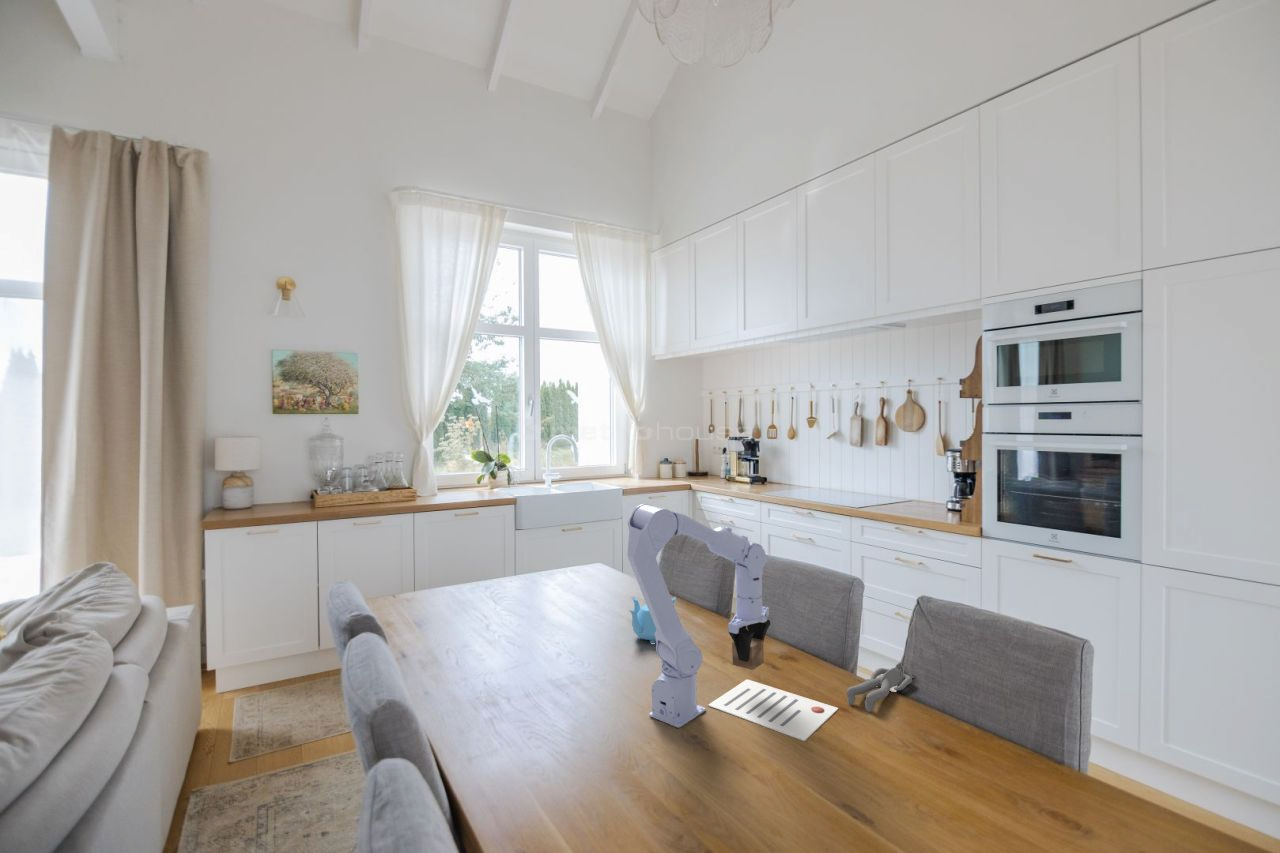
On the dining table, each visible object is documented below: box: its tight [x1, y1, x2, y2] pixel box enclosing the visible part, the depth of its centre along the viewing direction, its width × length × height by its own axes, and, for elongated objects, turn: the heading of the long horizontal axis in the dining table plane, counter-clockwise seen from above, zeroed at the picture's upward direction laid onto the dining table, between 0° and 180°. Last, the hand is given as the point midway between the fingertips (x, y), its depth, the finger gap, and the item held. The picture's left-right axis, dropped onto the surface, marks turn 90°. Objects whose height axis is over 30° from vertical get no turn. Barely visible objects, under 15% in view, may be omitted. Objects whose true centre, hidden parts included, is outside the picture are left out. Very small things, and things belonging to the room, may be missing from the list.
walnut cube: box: [731, 638, 765, 671], centre depth 132 cm, size 5×5×5 cm
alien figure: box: [846, 661, 913, 713], centre depth 133 cm, size 8×5×25 cm
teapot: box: [628, 596, 677, 644], centre depth 166 cm, size 13×13×10 cm
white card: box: [707, 679, 839, 742], centre depth 125 cm, size 16×22×1 cm
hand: (749, 656), depth 132 cm, fingers closed on walnut cube, 5 cm apart
